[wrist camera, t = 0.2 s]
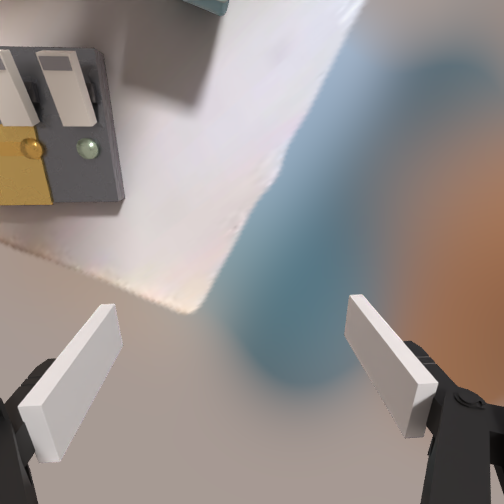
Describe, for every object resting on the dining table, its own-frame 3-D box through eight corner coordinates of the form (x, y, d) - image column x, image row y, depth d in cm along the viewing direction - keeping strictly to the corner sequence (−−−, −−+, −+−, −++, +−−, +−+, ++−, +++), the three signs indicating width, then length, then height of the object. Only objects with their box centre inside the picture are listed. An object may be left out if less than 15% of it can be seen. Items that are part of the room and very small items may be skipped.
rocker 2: (43, 50, 30) (34, 52, 29) (75, 50, 30) (68, 53, 29) (69, 122, 34) (62, 126, 33) (97, 122, 35) (91, 126, 33)
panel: (-58, 51, 34) (-88, 42, 30) (103, 54, 35) (90, 45, 32) (-11, 201, 40) (-32, 206, 36) (125, 199, 41) (116, 204, 38)
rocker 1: (-24, 49, 30) (-36, 51, 28) (9, 49, 30) (-1, 51, 28) (11, 121, 34) (2, 126, 33) (40, 121, 34) (32, 126, 33)
